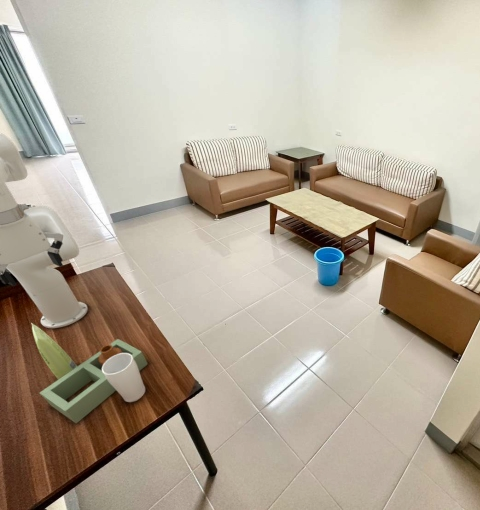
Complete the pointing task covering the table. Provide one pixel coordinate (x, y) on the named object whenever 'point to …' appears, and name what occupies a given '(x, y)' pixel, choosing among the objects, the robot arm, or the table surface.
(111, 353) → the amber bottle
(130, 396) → the white cup
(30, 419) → the table surface
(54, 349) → the tube
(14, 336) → the table surface
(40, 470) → the table surface
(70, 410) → the caddy
